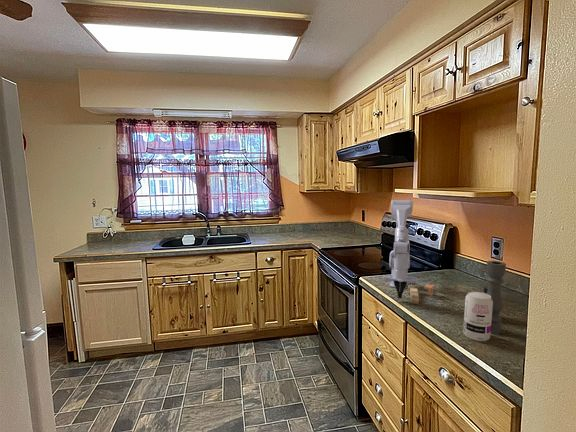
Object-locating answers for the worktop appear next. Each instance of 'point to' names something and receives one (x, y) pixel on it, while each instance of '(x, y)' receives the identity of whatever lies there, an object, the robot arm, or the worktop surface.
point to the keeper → (429, 288)
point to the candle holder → (495, 292)
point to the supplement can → (478, 316)
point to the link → (414, 294)
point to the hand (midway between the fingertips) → (399, 297)
